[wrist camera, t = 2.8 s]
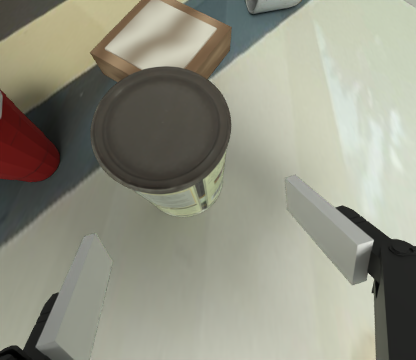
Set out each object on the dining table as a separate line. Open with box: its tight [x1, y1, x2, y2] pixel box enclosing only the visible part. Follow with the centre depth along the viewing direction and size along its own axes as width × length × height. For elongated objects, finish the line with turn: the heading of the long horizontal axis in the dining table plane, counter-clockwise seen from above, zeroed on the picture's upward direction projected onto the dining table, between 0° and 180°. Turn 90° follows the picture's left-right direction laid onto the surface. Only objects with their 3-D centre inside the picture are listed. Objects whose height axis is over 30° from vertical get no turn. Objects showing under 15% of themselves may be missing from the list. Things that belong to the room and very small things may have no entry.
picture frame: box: [90, 0, 232, 82], centre depth 33 cm, size 14×14×4 cm
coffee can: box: [91, 66, 231, 217], centre depth 23 cm, size 10×10×14 cm
